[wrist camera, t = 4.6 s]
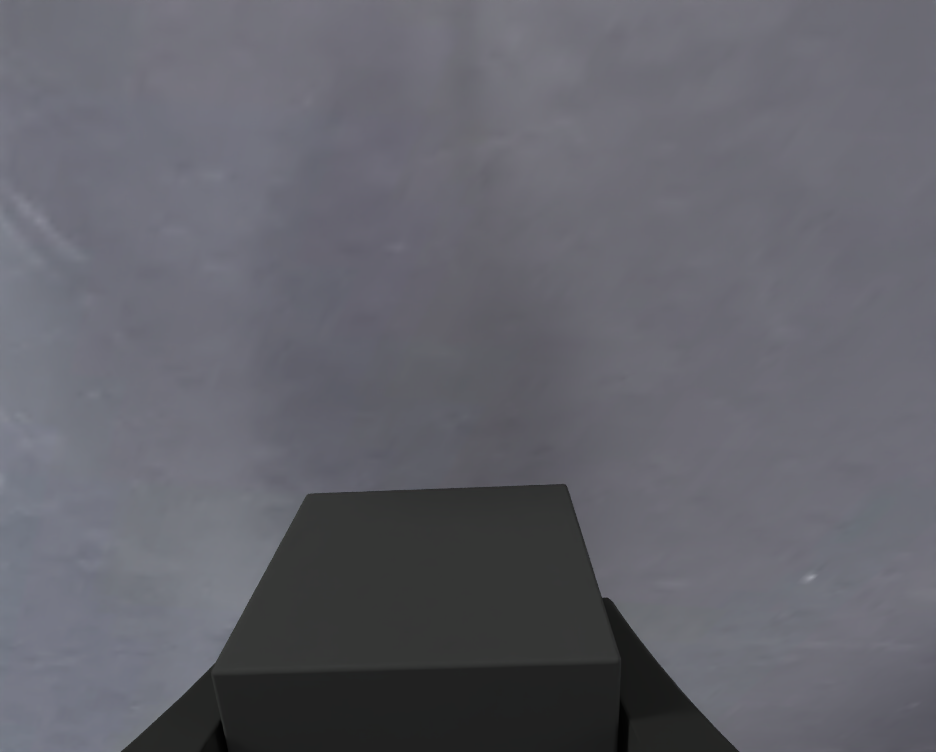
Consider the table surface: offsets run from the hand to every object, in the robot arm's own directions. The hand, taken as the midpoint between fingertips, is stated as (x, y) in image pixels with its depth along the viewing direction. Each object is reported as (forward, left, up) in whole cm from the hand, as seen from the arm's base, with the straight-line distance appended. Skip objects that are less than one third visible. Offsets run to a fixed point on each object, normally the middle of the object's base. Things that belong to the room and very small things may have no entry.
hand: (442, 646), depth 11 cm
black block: (0, 0, -1) cm, 1 cm away
